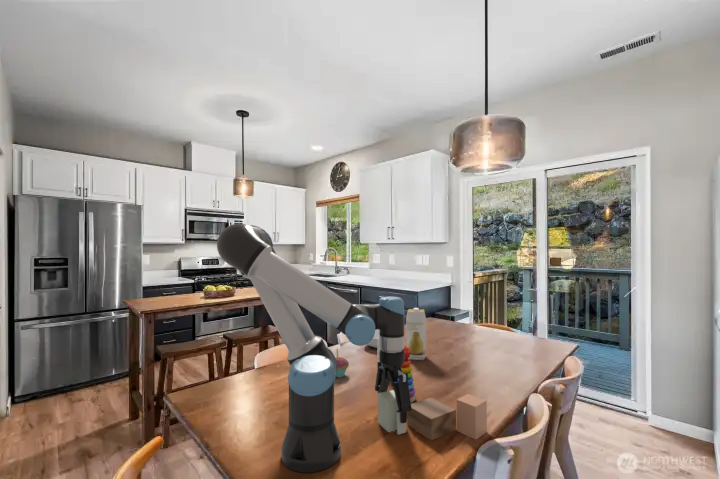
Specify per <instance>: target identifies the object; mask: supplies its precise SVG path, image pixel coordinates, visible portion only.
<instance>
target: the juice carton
mask: <svg viewBox="0 0 720 479" xmlns="http://www.w3.org/2000/svg"><path fill="white" fill-rule="evenodd" d="M405 318H406V319H405V320H406V321H405V322H406V323H405V327H406V328H405V330H406V331H405V336H406V338H405V342H406V343H405V344H406V345H405V346H407V347H408V348H409V350H410V357H409V358H408V359H409V360H413V361H414V360H415V361H416V360H417V361H425V359H426V355H427V315H426V310H425V309H424V308H423V309H419V307H413V308H409V309H408V310H407V312H406V317H405Z"/></svg>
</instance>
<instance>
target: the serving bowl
mask: <svg viewBox="0 0 720 479" xmlns="http://www.w3.org/2000/svg"><path fill="white" fill-rule="evenodd" d="M379 332H380V331H379V330H375V335H374V337H373V339H372V340H371V342H369V343H368V344H367V345H368V346H369V347H372V348H376V349H377V344H378V339H379Z"/></svg>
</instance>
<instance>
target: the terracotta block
mask: <svg viewBox="0 0 720 479" xmlns="http://www.w3.org/2000/svg"><path fill="white" fill-rule="evenodd" d="M487 403H488V402H487V400H486V399H484V398H480V397H479V396H478V397H477V396H475V395H472V394H470V393H467V394H465V395H463V396H461V397H459V398H457V399H456V431H457V432H458V433H461V434H463V435H465V436H467V437H469V438H472V439H473V440H477V439H479V438H480V437H482V436H483V435H485V434H486V433H487V432H488V427H487V426H488V424H487V423H488V422H487V421H488V419H487V417H488V416H487V415H488V414H487V409H488V407H487V406H488V405H487Z"/></svg>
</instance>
